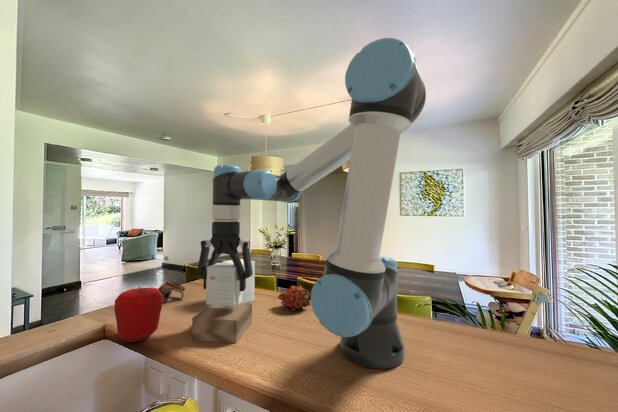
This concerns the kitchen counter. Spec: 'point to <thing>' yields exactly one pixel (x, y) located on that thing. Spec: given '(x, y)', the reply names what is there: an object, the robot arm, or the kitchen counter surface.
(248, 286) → the supplement box
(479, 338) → the kitchen counter surface
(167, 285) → the brown grey ring
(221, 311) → the walnut block
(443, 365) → the kitchen counter surface
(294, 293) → the dragon fruit
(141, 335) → the apple
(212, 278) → the small box
